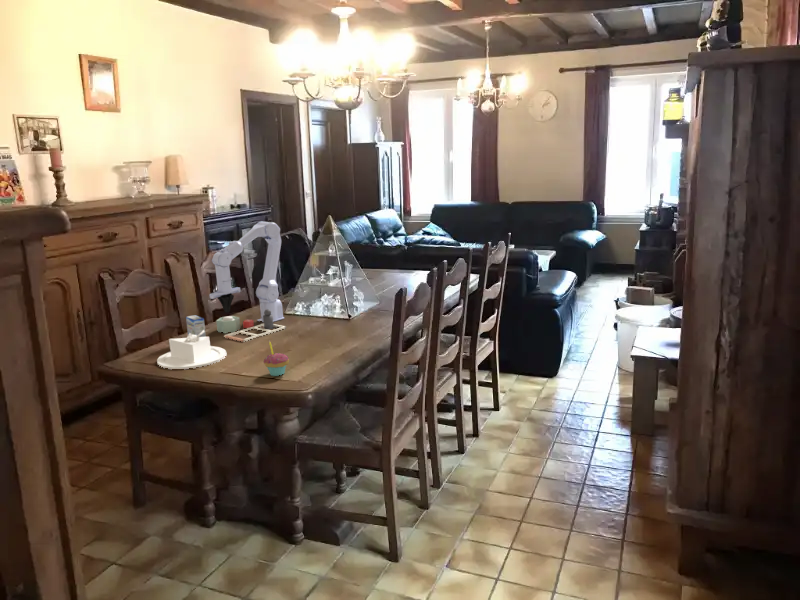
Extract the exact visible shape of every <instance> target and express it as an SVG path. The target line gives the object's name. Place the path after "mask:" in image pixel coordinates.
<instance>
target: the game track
mask: <svg viewBox="0 0 800 600" xmlns="http://www.w3.org/2000/svg"><path fill="white" fill-rule="evenodd" d="M273 324H274V329H273V330H267V329H264V322H262V323H260V324H258V325H254V326H253V327H250V328H247V329H244V328H243V329H239V330H238V331H237V332H231V333H226V334H223V337H225V338H224V339H228V338H229V339H228V340H232V339H233V340H232V341H236V340H237V341H236V342H240V341H241V343H246V342H249V341H251V340H250V339H252V340H254V339H253V338H256V337H259V336H262V337H264V336H263V335H265V336H267V335H266V334H268V335H271V334H274V333H277V332H276V331H278V332H280V331H279V330H281V331H283V330H282V329H284V330H286V329H287V326H286V325H282V324H280V325H279V324H276V323H273ZM261 326H263V328H262V327H261ZM258 327H260V328H258ZM277 327H279V328H277ZM275 328H276V329H275ZM251 329H253V330H254V329H257V330H256V331H258V330H262V331H261V332H262V333H258V334H257V333H253V332H249V331H248V330H250V331H252V330H251ZM245 331H247V332H245ZM263 331H266V332H263ZM273 332H274V333H273ZM239 333H241V334H240V335H243V334H246V335H245V336H248V335H251V336H248V337H246V338H241V337H237V335H239ZM270 333H271V334H270ZM236 334H237V335H236ZM235 335H236V336H235ZM259 338H260V337H259ZM256 339H257V338H256ZM248 340H249V341H248ZM245 341H246V342H245Z"/></svg>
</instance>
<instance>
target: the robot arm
mask: <svg viewBox="0 0 800 600" xmlns="http://www.w3.org/2000/svg"><path fill="white" fill-rule="evenodd" d="M280 232H281V228H280V226H279V225H278V224H277V223H276V222H273V221H271V222H270V221H269V222H268V221H264V220H263V221H262V220H261V221H258V222H257V223H256V224H254V225H253V226H252V228H251V229H250V230H248V231H247V232H246V233H245V234H244V235H243V236H242V237H240V238H239V240H233V241H231V240H230V241H229V242H228V245H226V246H225V247H224V248H221V249H220V251H216V253H214V254H213V256H212V259H211V262H212V263H213V265H214V269H215V276H216V285H217V287H216V288H217V291H214V292H211V293H209V295H208V296H209V299H211V300H214V299H216V298H217V299H218V301H219V303H220V304H221V306H222V309H223V311H224V313H230V312H231V306H232V302H233V300H234V298H235V294H236V293H241V287H238V286H236V287H232V279H231V270H230V265H231V264H232V260H233V259H235V258H236V257H237V256H239V255H240V254H241V253H243V250H244V247H246V246H247V245H248V244H250V243H252V241H253V240H255V239H256V238H263V239H264V240H265V241H266V243H267V244H268V245H267V251H266V257H265V263H264V270H263V275H262V279H260V281H259V283H258V286H257V288H256V291H255V294H256V295H255V296H256V297H257V298H258V300H259V308H260V318H259V319H256V320H257V322H260V321H262V322H261V323H264V320H263V315H265V314H264V311H265V310H266V309H269V310H270V311H271V314H272V315H273V323H274V322H277V321H281V320H284V319H285V317H284V313H283V303H282V301H281V300H280V299H278V298H279V295H280V293H279V289H278V288H279V284H278V283H277V281H276V279H277V278H276V277H277V273H278V265H279V259H280V254H281V253H280V252H281V248H282V247H281V246H282V237H281V233H280Z"/></svg>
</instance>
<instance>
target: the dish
mask: <svg viewBox="0 0 800 600" xmlns="http://www.w3.org/2000/svg"><path fill="white" fill-rule="evenodd" d="M204 332H205V333H206V330H205V331H204V330H203V331H202V332H201V333H199V334H198V335H193V334H191V333H189V334H188V333H187V336H186V337H182V338H181V337H178V338H177V337H176V338H169V339H168V341H169V343H168V344H169V349H170V351H168V352H166V353H164V354H161V355H159V356H158V358H157V359H156V362H157V366H158V365H159V366H158V367H160V366H161V367H160V368H162V367H163V368H162V369H165V368H168V369H167V370H172V369H184V370H190V369H189V368H193V369H197V368H196V367H199V368H203V367H202V366H204V367H208V366H207V365H209V366H211V365H214V364H217V363H219V362H221V361H223V360H224V359H225V358H226V357H227V355H228V354H227V350H226V349H225V348H222V347H220V346H213V345H211V341H210V336H206V337H199V336H200V335H201V334H203V333H204ZM225 356H226V357H225ZM222 359H223V360H222ZM220 360H221V361H220ZM216 362H217V363H216ZM213 363H214V364H213ZM210 364H211V365H210Z"/></svg>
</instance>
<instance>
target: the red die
mask: <svg viewBox="0 0 800 600" xmlns="http://www.w3.org/2000/svg"><path fill="white" fill-rule="evenodd" d="M254 323H255V322H254V319H244V320H243V321H242V327H243V329H244V328H250V327H253V326H255V324H254Z"/></svg>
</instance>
